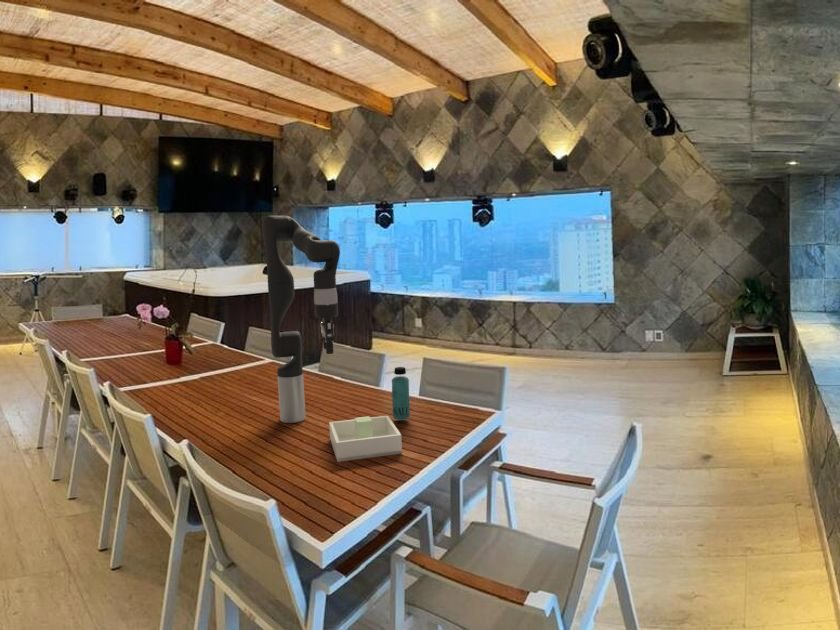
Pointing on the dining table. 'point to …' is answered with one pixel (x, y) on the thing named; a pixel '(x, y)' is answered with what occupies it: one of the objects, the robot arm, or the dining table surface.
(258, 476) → the dining table surface
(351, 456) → the serving bin
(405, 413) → the beverage bottle
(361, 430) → the green block
